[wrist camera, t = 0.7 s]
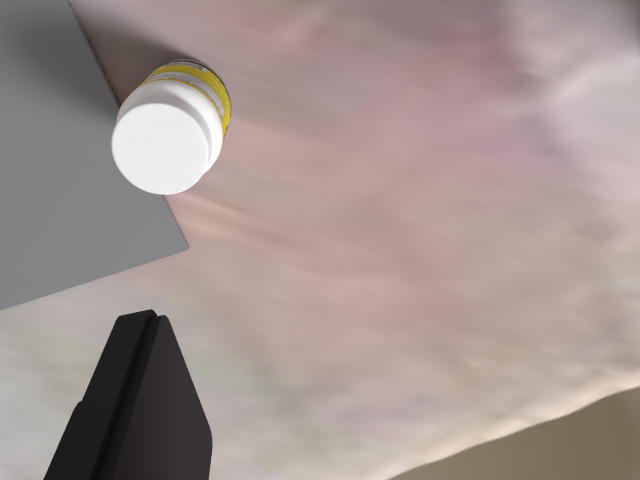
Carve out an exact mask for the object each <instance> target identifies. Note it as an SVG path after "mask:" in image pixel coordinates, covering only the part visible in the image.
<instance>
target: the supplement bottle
mask: <svg viewBox="0 0 640 480" xmlns="http://www.w3.org/2000/svg"><path fill="white" fill-rule="evenodd" d="M231 107H232V106H231V98H230V94H229V91H228V88H227V86H226V84H225V83H224V81H223V80H222V78H221V77H220V76H219V75H218V74H217V73H216V72H215V71H214V70H213V69H211V68H210V67H208V66H206V65H205V64H202V63H200V62H197V61H194V60H187V59H180V60H173V61H170V62H167V63H165V64H163V65H161V66H160V67H158V68H157V69H156V70H155V71H154V72H153V73H152V74H151V75H150V76H149V77H148V78H147V79H146V80H145V81H144V82H143V83H142V84H141V85H139V86H138V87H137V88H136V89H135V90H134V91H133V92H132V93H131V94H130V95H129V96H128V98H127V99H126V100H125V101H124V103H123V104H122V106H121V108H120V110H119V112H118V115H117V120H116V126H115V128H114V130H113V134H112V140H111V147H112V154H113V158H114V160H115V163H116V165H117V167H118V169H119V170H120V172H121V173H122V174H123V175H124V177H125V178H126V179H127V180H128V181H129V182H131V183H132V184H133V185H135V186H136V187H138V188H140V189H142V190H144V191H147V192H150V193H154V194H160V195H167V194H175V193H179V192H182V191H184V190H186V189H188V188H190V187H191V186H193V185H194V184H195V183H196V182H197V181H198V180H199V179H200V177H201V176H202V175H203V174H204V173H205V172H206V171H208V170H209V169H210V167H211V166H212V165H213V164H214V162H215V161H216V159H217V158H218V156H219V153H220V151H221V147H222V144H223V141H224V137H225V134H226V131H227V127H228V123H229V120H230V116H231Z"/></svg>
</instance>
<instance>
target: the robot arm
mask: <svg viewBox="0 0 640 480" xmlns="http://www.w3.org/2000/svg"><path fill="white" fill-rule="evenodd" d="M211 456H212V435H211V430H210V427H209V424H208V421H207V419H206V416H205V413H204V411H203V408H202V405H201V403H200V400H199V398H198V395H197V392H196V390H195V387H194V384H193V382H192V379H191V377H190V374H189V371H188V369H187V366H186V363H185V361H184V358H183V355H182V353H181V350H180V348H179V345H178V342H177V340H176V337H175V334H174V332H173V329H172V327H171V324H170V322H169V319H168V318H167V316H165V315H162V316H157V314H156V313H155V312H154V311H153V310H152V309H150V310H145V311H141V312H136V313H131V314H126V315H121V316H119V317H118V318H117V320H116V322H115V324H114V326H113V329H112V331H111V334H110V336H109V338H108V341H107V343H106V345H105V348H104V350H103V352H102V355H101V357H100V359H99V362H98V364H97V366H96V369H95V371H94V374H93V376H92V378H91V381H90V383H89V385H88V388H87V390H86V392H85V395H84V397H83V399H82V401H80V402H79V403H78V404H77V406H76V407H75V409H74V410H73V413H72V415H71V417H70V420H69V422H68V424H67V427H66V429H65V431H64V433H63V436H62V438H61V440H60V443H59V445H58V447H57V450H56V452H55V454H54V456H53V459H52V461H51V463H50V466H49V468H48V470H47V473H46V475H45V477H44V479H43V480H209V472H210V464H211Z"/></svg>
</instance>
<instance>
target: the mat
mask: <svg viewBox="0 0 640 480" xmlns="http://www.w3.org/2000/svg"><path fill="white" fill-rule="evenodd" d="M120 108H121V106H120V104H119V102H118V100H117V98H116V96H115V94H114V92H113V90H112V88H111V86H110V84H109V82H108V80H107V78H106V76H105V74H104V72H103V70H102V68H101V66H100V63H99V61H98V59H97V57H96V55H95V53H94V51H93V49H92V47H91V45H90V43H89V41H88V39H87V37H86V35H85V33H84V31H83V29H82V27H81V25H80V23H79V21H78V19H77V16H76V14H75V12H74V10H73V8H72V6H71V4H70V2H69V0H0V309H1V310H3V309H7V308H10V307H13V306H16V305H19V304H22V303H25V302H28V301H31V300H34V299H37V298H41V297H44V296H47V295H50V294H53V293H56V292H59V291H62V290H65V289H68V288H71V287H75V286H78V285H81V284H84V283H87V282H90V281H93V280H96V279H99V278H102V277H105V276H109V275H112V274H115V273H118V272H121V271H124V270H127V269H130V268H133V267H136V266H139V265H143V264H146V263H149V262H152V261H155V260H158V259H161V258H164V257H167V256H170V255H173V254H177V253H180V252H183V251H186V250H188V249H189V245H188V243H187V241H186V239H185V237H184V235H183V233H182V231H181V229H180V227H179V225H178V223H177V221H176V219H175V217H174V215H173V213H172V211H171V209H170V207H169V205H168V202H167V200H166V198H165V196H164V195H160V194H154V193H150V192H147V191H144V190H142V189H140V188H138V187H136V186H135V185H133V184H132V183H131V182H129V181H128V180H127V179H126V178H125V177H124V175H123V174H122V173H121V172H120V170H119V169H118V167H117V165H116V163H115V160H114V158H113V154H112V147H111V140H112V134H113V130H114V128H115V126H116V120H117V115H118V112H119V110H120Z"/></svg>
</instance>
